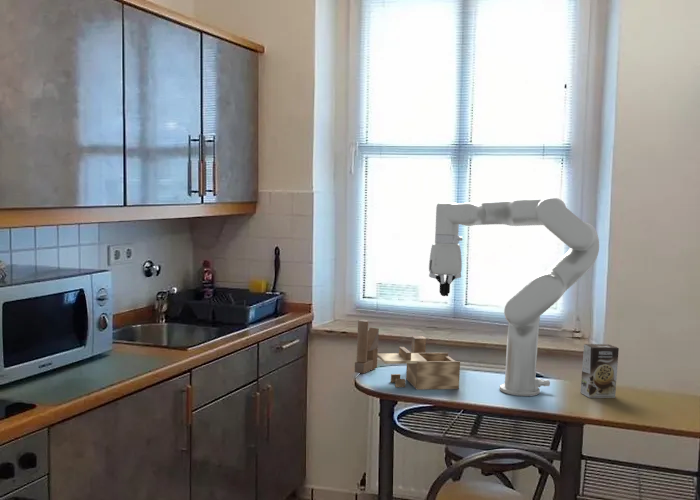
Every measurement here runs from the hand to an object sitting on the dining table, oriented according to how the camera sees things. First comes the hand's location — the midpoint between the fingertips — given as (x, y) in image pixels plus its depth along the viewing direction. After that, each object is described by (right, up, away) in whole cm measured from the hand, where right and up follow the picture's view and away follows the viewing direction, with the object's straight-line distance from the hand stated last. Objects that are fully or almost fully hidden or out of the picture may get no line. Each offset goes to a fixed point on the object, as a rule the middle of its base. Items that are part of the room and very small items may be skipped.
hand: (444, 295), depth 251 cm
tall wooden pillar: (-8, -27, +15) cm, 32 cm away
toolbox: (-7, -29, -2) cm, 30 cm away
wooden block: (-26, -27, +14) cm, 40 cm away
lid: (-14, -20, -4) cm, 25 cm away
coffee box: (+48, -32, -8) cm, 58 cm away
